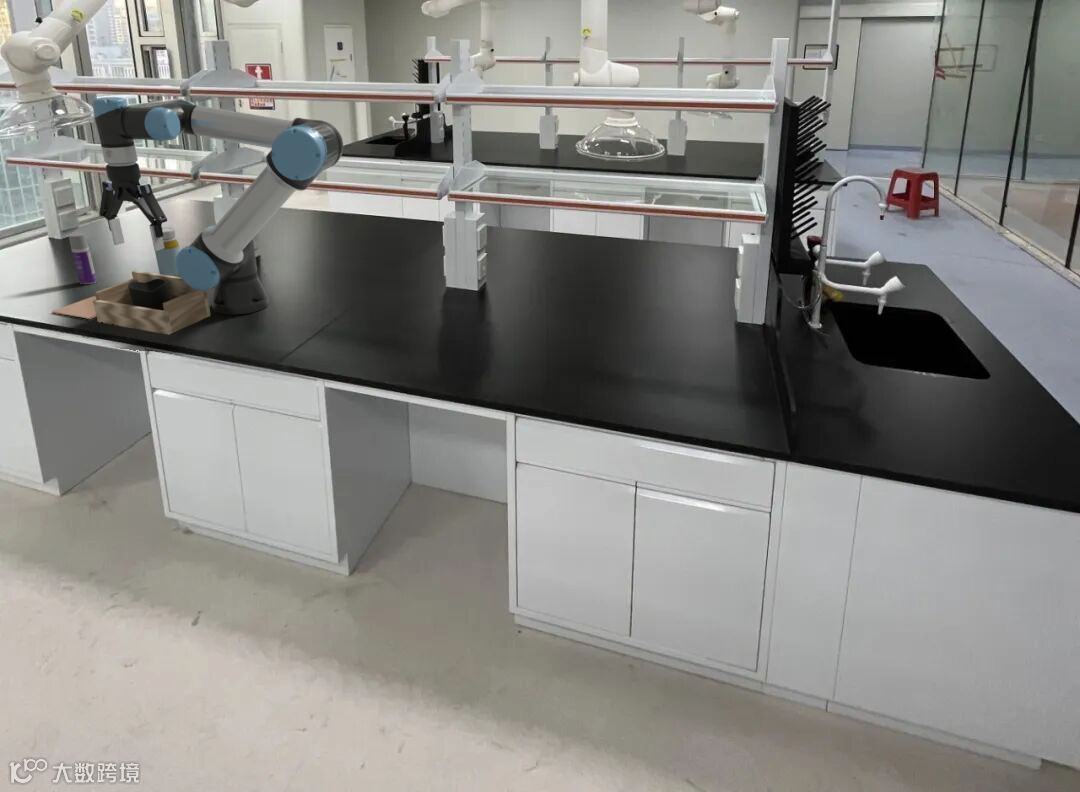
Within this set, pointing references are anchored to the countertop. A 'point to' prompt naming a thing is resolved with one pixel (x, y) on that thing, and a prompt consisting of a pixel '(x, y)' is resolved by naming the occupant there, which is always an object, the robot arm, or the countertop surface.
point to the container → (82, 258)
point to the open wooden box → (177, 313)
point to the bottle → (168, 253)
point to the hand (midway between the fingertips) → (139, 246)
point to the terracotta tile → (79, 309)
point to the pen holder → (149, 293)
